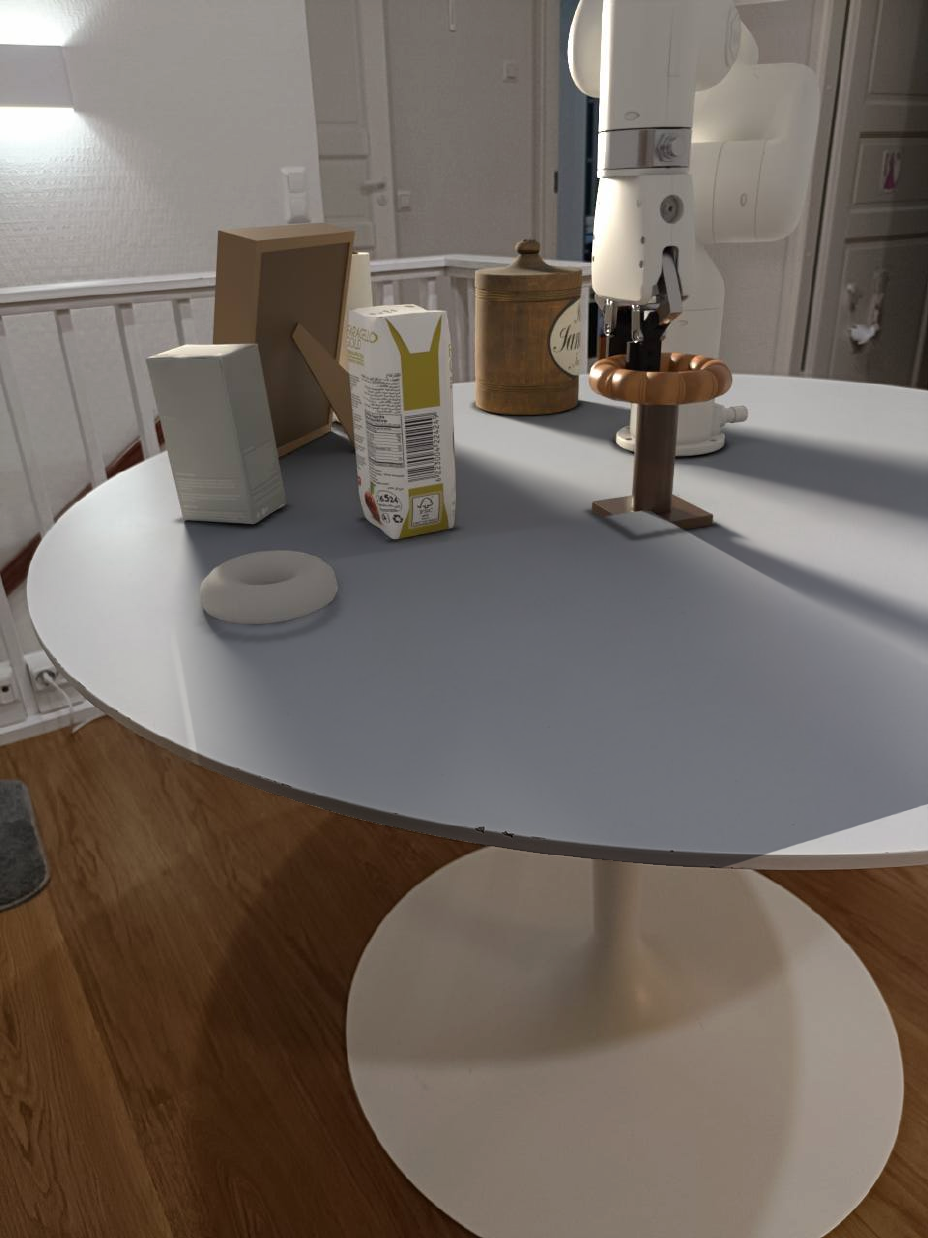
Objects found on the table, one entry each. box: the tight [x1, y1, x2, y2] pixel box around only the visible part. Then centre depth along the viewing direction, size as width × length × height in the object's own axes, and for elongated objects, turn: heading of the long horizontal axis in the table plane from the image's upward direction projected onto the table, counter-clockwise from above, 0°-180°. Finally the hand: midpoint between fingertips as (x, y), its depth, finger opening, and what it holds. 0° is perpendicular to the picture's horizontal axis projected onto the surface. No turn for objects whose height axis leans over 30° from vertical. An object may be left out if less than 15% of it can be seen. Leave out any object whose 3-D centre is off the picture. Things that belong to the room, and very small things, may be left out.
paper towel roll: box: [333, 250, 374, 423], centre depth 116 cm, size 7×6×21 cm
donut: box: [199, 549, 339, 625], centre depth 65 cm, size 10×4×10 cm
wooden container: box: [474, 238, 583, 416], centre depth 122 cm, size 15×15×22 cm
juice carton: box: [347, 303, 457, 540], centre depth 78 cm, size 8×9×19 cm
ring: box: [588, 353, 733, 405], centre depth 76 cm, size 12×12×3 cm
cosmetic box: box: [145, 344, 287, 525], centre depth 82 cm, size 8×7×16 cm
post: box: [591, 404, 714, 530], centre depth 79 cm, size 8×8×11 cm
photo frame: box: [212, 222, 356, 459], centre depth 100 cm, size 15×22×25 cm
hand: (631, 381), depth 80 cm, fingers closed on ring, 2 cm apart
